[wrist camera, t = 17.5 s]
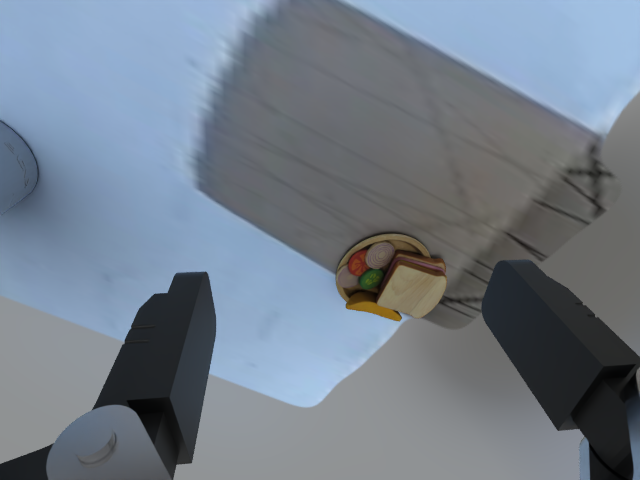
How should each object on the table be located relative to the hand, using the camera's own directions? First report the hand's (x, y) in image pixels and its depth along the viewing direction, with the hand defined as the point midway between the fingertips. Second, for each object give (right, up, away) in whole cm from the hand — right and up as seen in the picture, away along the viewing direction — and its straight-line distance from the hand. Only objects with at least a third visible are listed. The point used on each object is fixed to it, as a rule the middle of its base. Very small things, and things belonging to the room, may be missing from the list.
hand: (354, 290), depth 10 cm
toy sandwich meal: (+8, -2, +37) cm, 38 cm away
